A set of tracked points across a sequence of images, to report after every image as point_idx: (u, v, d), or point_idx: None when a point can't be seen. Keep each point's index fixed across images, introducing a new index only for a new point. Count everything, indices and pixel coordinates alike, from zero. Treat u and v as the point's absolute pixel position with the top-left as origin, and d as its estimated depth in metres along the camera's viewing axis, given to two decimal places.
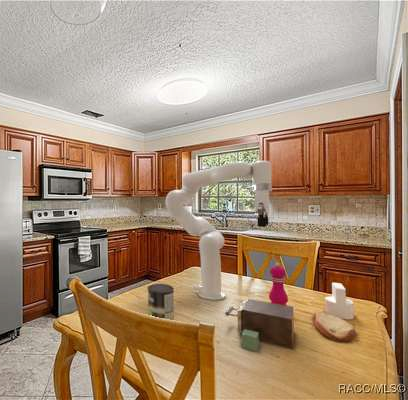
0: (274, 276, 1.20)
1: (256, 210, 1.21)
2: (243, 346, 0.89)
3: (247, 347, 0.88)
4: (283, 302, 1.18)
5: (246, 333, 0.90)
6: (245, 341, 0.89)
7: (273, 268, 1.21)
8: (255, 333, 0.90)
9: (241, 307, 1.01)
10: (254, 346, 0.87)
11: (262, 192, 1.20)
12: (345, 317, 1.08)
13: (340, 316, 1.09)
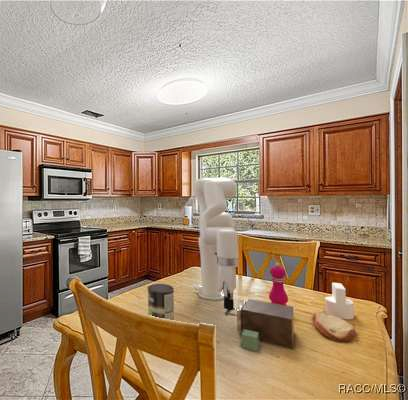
0: (274, 276, 1.20)
1: (219, 289, 1.02)
2: (243, 346, 0.89)
3: (247, 347, 0.88)
4: (283, 302, 1.18)
5: (246, 333, 0.90)
6: (245, 341, 0.89)
7: (273, 268, 1.21)
8: (255, 333, 0.90)
9: (240, 307, 1.01)
10: (254, 346, 0.87)
11: (226, 269, 1.01)
12: (345, 317, 1.08)
13: (340, 316, 1.09)
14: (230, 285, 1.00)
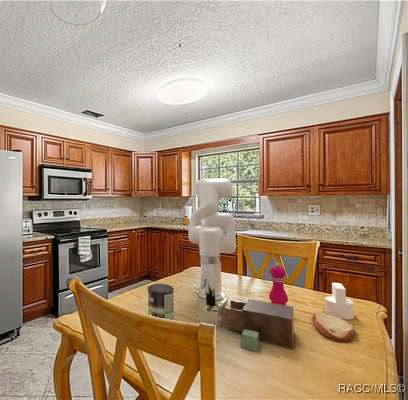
0: (274, 276, 1.20)
1: (201, 286, 1.06)
2: (243, 346, 0.89)
3: (247, 347, 0.88)
4: (283, 302, 1.18)
5: (246, 333, 0.90)
6: (245, 341, 0.89)
7: (273, 268, 1.21)
8: (255, 333, 0.90)
9: (221, 303, 1.05)
10: (254, 346, 0.87)
11: (208, 267, 1.05)
12: (345, 317, 1.08)
13: (340, 316, 1.09)
14: (211, 282, 1.04)
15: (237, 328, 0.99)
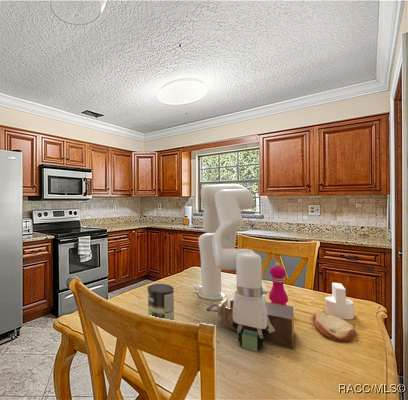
0: (274, 276, 1.20)
1: None
2: (243, 346, 0.89)
3: (247, 347, 0.88)
4: (283, 302, 1.18)
5: (246, 333, 0.90)
6: (245, 341, 0.89)
7: (273, 268, 1.21)
8: (255, 333, 0.90)
9: (221, 303, 1.05)
10: (254, 346, 0.87)
11: None
12: (345, 317, 1.08)
13: (340, 316, 1.09)
14: (233, 313, 0.91)
15: None
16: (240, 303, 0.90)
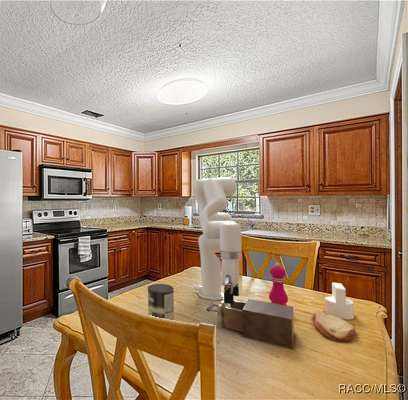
0: (274, 276, 1.20)
1: (222, 283, 1.02)
2: None
3: None
4: (283, 302, 1.18)
5: None
6: None
7: (273, 268, 1.21)
8: None
9: (221, 303, 1.05)
10: None
11: (229, 262, 1.01)
12: (345, 317, 1.08)
13: (340, 316, 1.09)
14: (233, 278, 1.00)
15: (237, 328, 0.99)
16: (236, 267, 1.01)
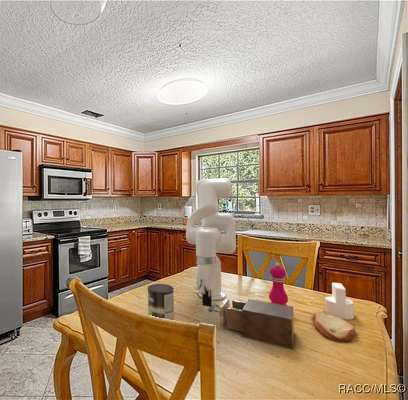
0: (274, 276, 1.20)
1: (197, 287, 1.07)
2: None
3: None
4: (283, 302, 1.18)
5: None
6: None
7: (273, 268, 1.21)
8: (233, 308, 1.06)
9: (223, 304, 1.04)
10: None
11: (204, 267, 1.06)
12: (345, 317, 1.08)
13: (340, 316, 1.09)
14: (207, 283, 1.05)
15: (239, 328, 0.98)
16: (210, 271, 1.07)
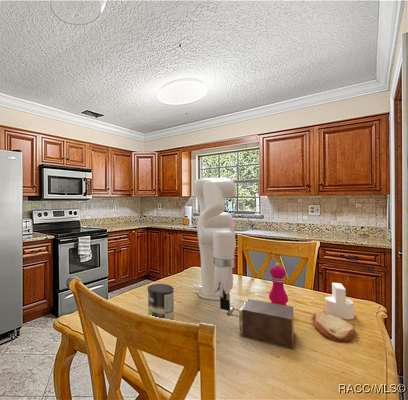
0: (274, 276, 1.20)
1: (215, 290, 1.03)
2: None
3: None
4: (283, 302, 1.18)
5: None
6: None
7: (273, 268, 1.21)
8: None
9: (242, 307, 1.00)
10: None
11: (222, 270, 1.02)
12: (345, 317, 1.08)
13: (340, 316, 1.09)
14: (226, 286, 1.01)
15: None
16: (229, 274, 1.03)
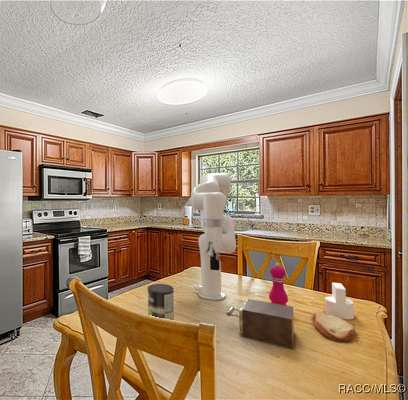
0: (274, 276, 1.20)
1: (205, 250, 1.05)
2: None
3: None
4: (283, 302, 1.18)
5: None
6: None
7: (273, 268, 1.21)
8: None
9: (242, 307, 1.00)
10: None
11: (212, 229, 1.04)
12: (345, 317, 1.08)
13: (340, 316, 1.09)
14: (215, 245, 1.03)
15: None
16: (218, 234, 1.05)
